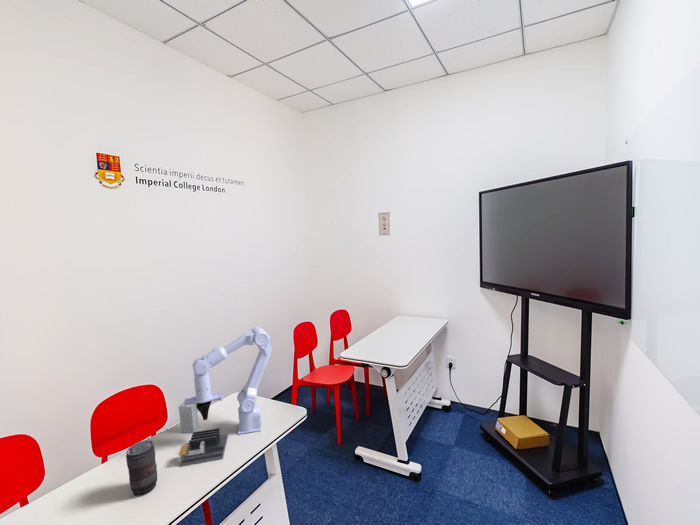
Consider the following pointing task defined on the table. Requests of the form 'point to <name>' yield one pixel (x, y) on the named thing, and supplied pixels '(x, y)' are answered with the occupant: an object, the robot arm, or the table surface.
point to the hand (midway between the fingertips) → (205, 418)
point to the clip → (197, 451)
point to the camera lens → (142, 467)
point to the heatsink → (212, 447)
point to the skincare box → (188, 417)
